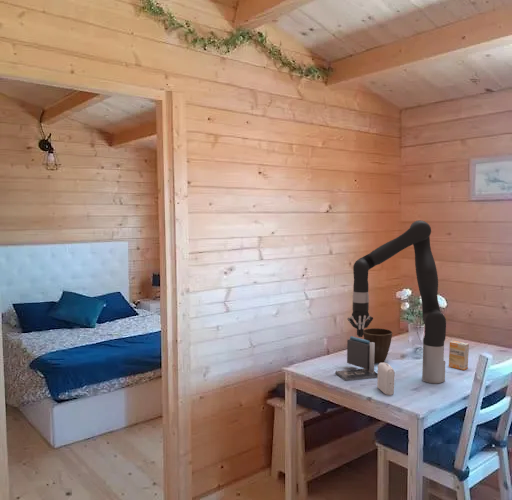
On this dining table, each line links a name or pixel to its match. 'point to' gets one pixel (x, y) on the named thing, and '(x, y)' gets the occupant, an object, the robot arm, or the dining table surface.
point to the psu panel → (357, 374)
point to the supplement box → (458, 355)
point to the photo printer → (385, 378)
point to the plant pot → (379, 342)
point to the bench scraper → (360, 353)
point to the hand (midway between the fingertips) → (360, 336)
